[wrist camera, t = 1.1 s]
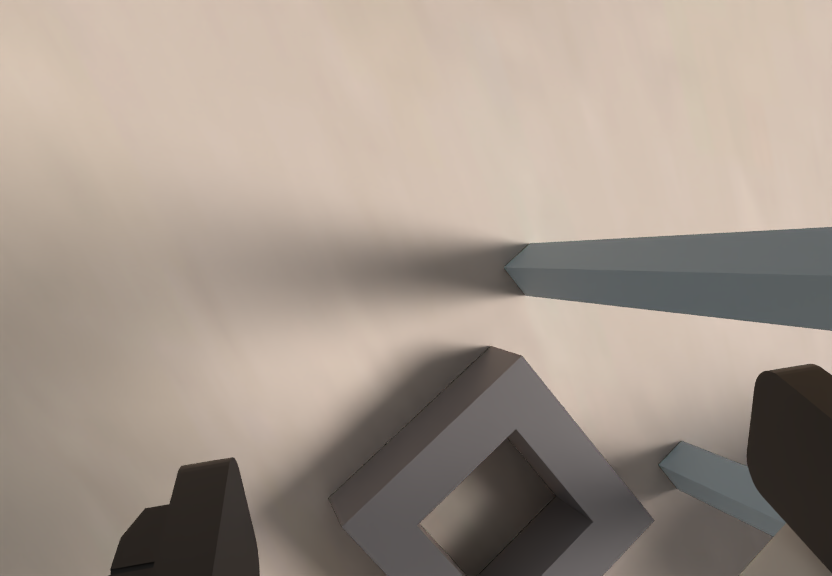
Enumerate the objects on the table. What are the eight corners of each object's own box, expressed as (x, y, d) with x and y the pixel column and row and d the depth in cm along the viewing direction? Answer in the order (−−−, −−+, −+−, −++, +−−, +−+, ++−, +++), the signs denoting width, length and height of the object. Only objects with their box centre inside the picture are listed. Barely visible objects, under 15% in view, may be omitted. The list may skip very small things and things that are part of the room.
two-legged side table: (555, 640, 39) (1221, 1389, 13) (336, 393, 36) (666, 766, 9) (708, 476, 42) (1532, 839, 16) (519, 229, 38) (1189, 160, 12)
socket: (466, 646, 38) (494, 690, 34) (328, 498, 36) (341, 527, 32) (612, 495, 40) (654, 520, 36) (491, 345, 38) (521, 355, 34)
